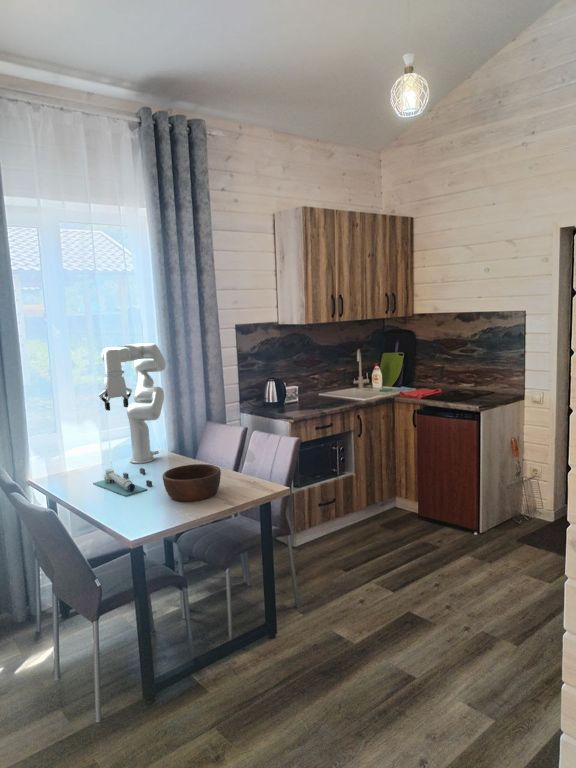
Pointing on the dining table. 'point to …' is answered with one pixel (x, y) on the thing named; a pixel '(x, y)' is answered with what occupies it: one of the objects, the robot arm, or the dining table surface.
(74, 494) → the dining table surface
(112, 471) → the grey tube
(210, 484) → the wooden bowl
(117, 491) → the mat
